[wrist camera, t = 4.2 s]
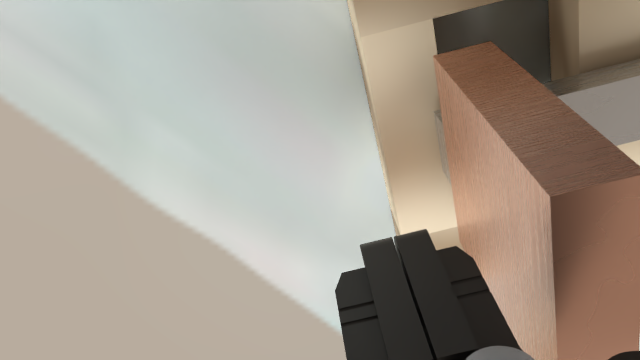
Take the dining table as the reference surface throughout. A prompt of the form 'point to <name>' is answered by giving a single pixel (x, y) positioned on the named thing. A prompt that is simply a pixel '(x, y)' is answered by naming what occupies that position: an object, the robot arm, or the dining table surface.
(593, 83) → the sled
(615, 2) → the tunnel track
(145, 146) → the dining table surface
